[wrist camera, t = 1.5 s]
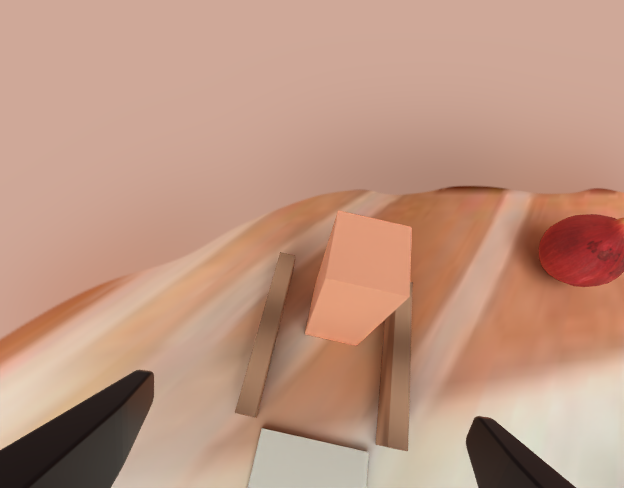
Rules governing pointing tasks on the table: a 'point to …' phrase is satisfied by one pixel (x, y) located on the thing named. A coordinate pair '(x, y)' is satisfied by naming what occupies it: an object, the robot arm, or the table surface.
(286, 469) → the pad
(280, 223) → the table surface
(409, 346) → the channel
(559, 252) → the onion
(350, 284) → the block
